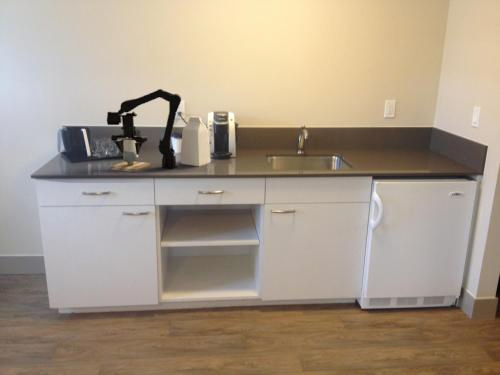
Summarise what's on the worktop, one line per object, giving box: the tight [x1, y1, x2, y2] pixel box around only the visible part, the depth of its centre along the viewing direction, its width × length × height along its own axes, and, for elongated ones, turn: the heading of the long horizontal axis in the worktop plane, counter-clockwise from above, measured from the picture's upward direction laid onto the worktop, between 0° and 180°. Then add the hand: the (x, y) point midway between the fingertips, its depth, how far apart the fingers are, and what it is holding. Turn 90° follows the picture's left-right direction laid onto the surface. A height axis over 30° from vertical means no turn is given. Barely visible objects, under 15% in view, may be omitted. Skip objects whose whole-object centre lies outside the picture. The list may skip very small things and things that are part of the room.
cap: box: [122, 150, 138, 162], centre depth 242 cm, size 7×7×5 cm
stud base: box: [109, 160, 152, 173], centre depth 243 cm, size 16×15×4 cm
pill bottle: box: [123, 137, 139, 158], centre depth 266 cm, size 8×8×15 cm
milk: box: [181, 115, 211, 167], centre depth 253 cm, size 12×12×26 cm
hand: (130, 154), depth 242 cm, fingers open, 9 cm apart
